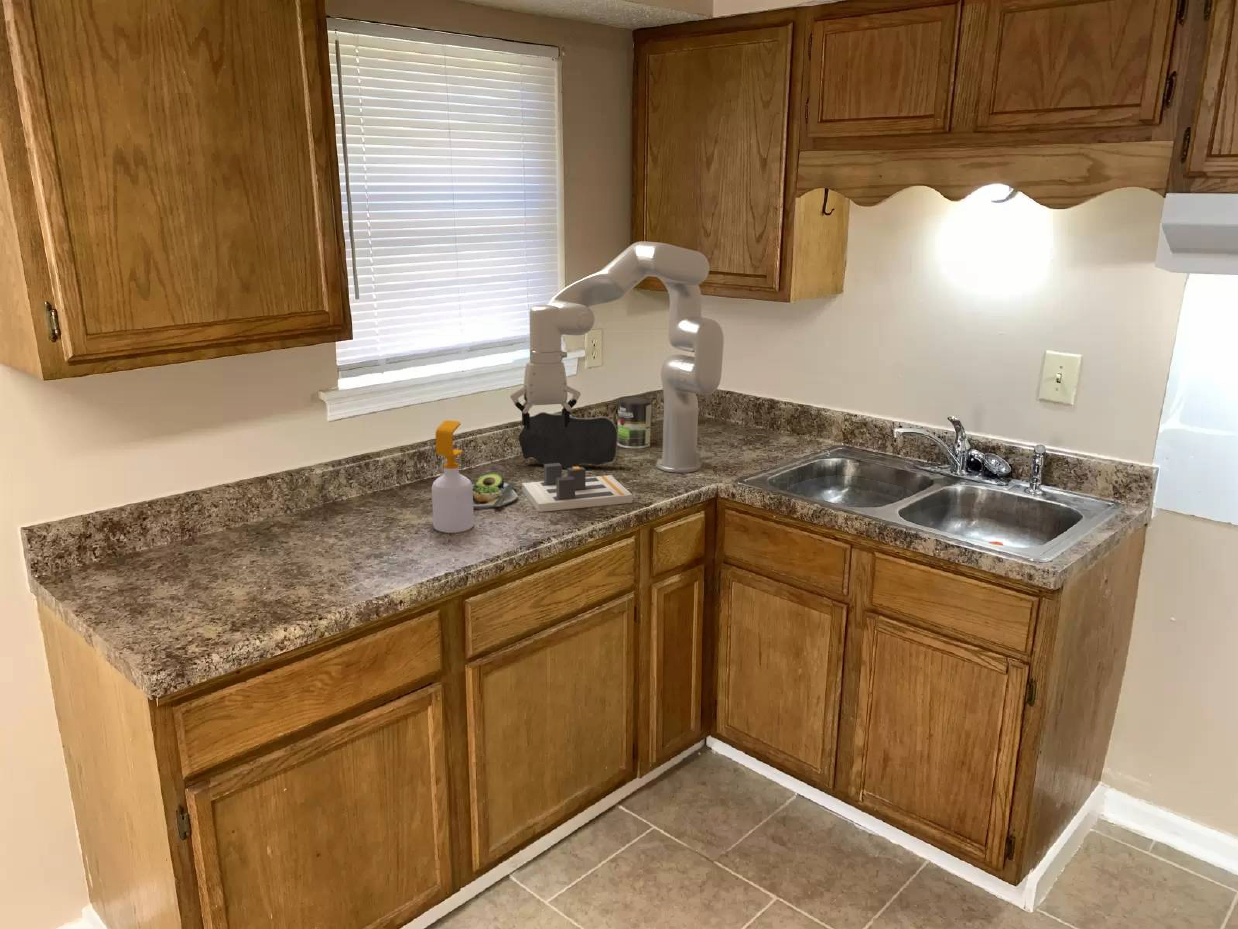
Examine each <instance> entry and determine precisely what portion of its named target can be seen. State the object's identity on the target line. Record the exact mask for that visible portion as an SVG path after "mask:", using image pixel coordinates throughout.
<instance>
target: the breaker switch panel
mask: <svg viewBox="0 0 1238 929" xmlns="http://www.w3.org/2000/svg"><path fill="white" fill-rule="evenodd" d="M562 469H563V468H562V465H561V464H560V463H552V464H543V481H531V482H530V481H529V482H522V483H521V490H522V492H523V494H524V495H525V496H526V498H527V499H528V500H529V501H530V503H531V504H532V505H533V506H534V508H535V510H536V511H537V512H538V513H541V512H543V513H544V512H550V511H551V512H552V511H553V512H554V511H561V510H573V509H580V508H583V509H584V508H591V507H600V506H602V507H603V506H611V505H620V504H630V503H633V501H634V499H633V496H634V495H633V494H632V493H631V492H630V491H629V490H628V489H627V488H626V487H624V486H623V485H622V484H621V483H620V482H619V481H618V480H617V479H616V478H615V477H613V476H612V475H611V474H610V475H600V476H599V475H597V476H589V477H588V476H587V477H586V476H585V489H576V490H575V479H574V478H573V477H572V476H570V477H567V476H563V474H562V472H563V471H562Z"/></svg>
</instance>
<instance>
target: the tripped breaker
mask: <svg viewBox="0 0 1238 929" xmlns="http://www.w3.org/2000/svg"><path fill="white" fill-rule="evenodd" d="M566 470H567V473H566V475H567V476H566V477H570V476H572V477H573V478H574V479H575V490H576V489H585V477H586V473H587V472H586V469H585V467H584V466H578V465H576V466H575V467H572V468H567V469H566Z"/></svg>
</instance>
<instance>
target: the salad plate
mask: <svg viewBox="0 0 1238 929" xmlns="http://www.w3.org/2000/svg"><path fill="white" fill-rule="evenodd" d="M515 485H516V483H515V482H508V483H507V482H506V483H505V480H504V478H503V477H502V476H501V474H498V473H487V474H483V475H481V476H479V477H478V478H476V481H475V482H474V483H472V486H473V502H476V503H477V504H473V510H481V509H482V510H483V509H492V508H500V507H503V506H505V505H508V504H509V503H512V502H514V501H515V500H517V499H518V494H517V492H516V491H515V490H514V488H515Z"/></svg>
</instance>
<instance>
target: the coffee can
mask: <svg viewBox="0 0 1238 929" xmlns="http://www.w3.org/2000/svg"><path fill="white" fill-rule="evenodd" d="M652 402H653V399H651V398H649V397H647V396H642V395H627V396H626V395H625V396H621V397H618V398H617V433H618V436H617V447H621V448H624V449H632V450H633V449H636V450H637V449H639V450H640V449H645V448H648V447H650V446H651V428H652V427H651V425H652V424H651V423H652Z"/></svg>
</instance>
